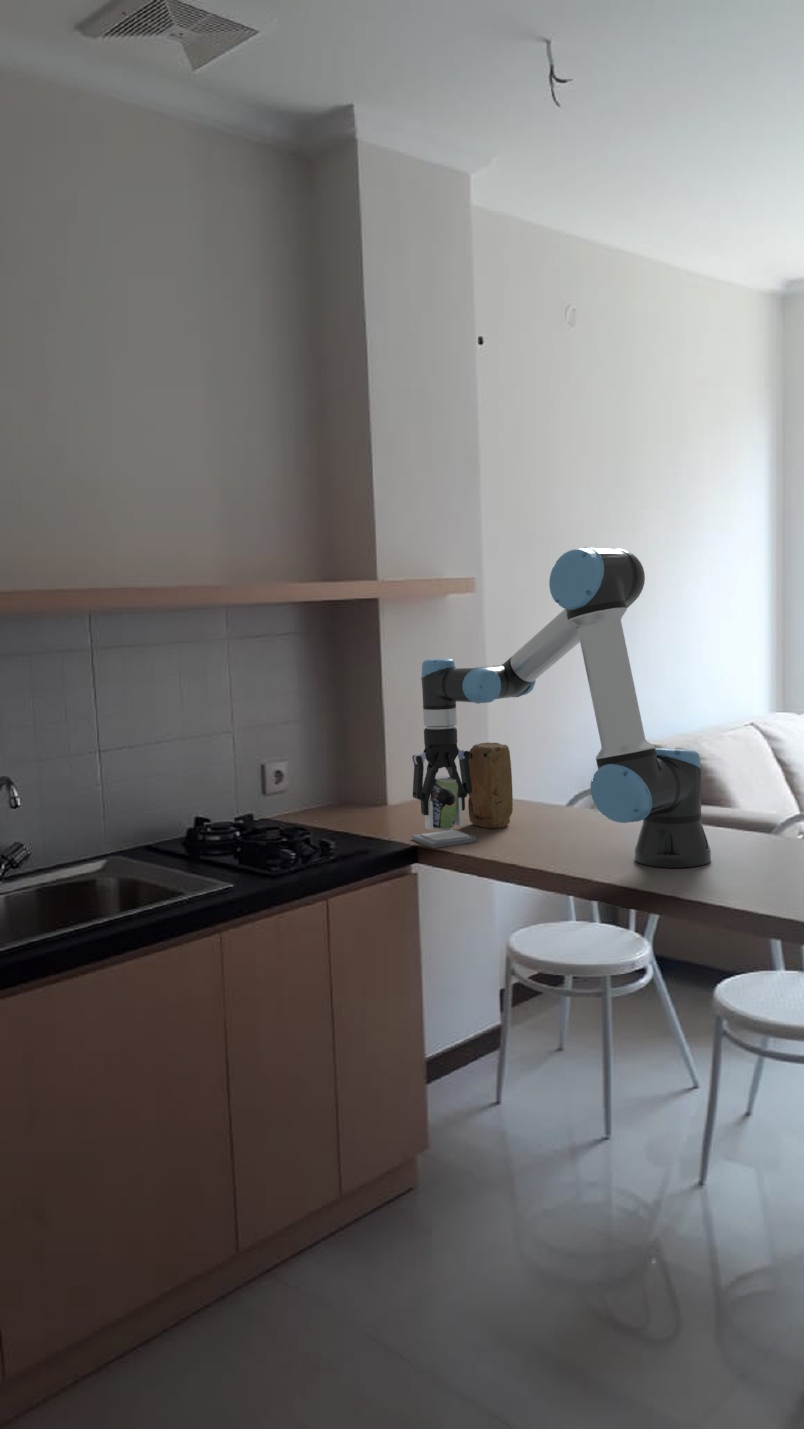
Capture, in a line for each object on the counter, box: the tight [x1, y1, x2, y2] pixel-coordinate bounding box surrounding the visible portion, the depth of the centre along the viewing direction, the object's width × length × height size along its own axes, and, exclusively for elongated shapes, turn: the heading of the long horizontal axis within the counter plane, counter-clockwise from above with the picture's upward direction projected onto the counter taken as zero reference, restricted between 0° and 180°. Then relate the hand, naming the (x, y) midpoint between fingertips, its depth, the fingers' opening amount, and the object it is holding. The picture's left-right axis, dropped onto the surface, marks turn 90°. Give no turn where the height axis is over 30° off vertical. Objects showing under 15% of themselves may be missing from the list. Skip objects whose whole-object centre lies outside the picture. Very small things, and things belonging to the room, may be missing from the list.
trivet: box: [411, 829, 478, 849], centre depth 259 cm, size 11×11×1 cm
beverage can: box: [429, 775, 458, 831], centre depth 258 cm, size 6×7×12 cm
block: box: [467, 742, 514, 829], centre depth 273 cm, size 11×8×20 cm
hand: (443, 826), depth 259 cm, fingers closed on beverage can, 7 cm apart
